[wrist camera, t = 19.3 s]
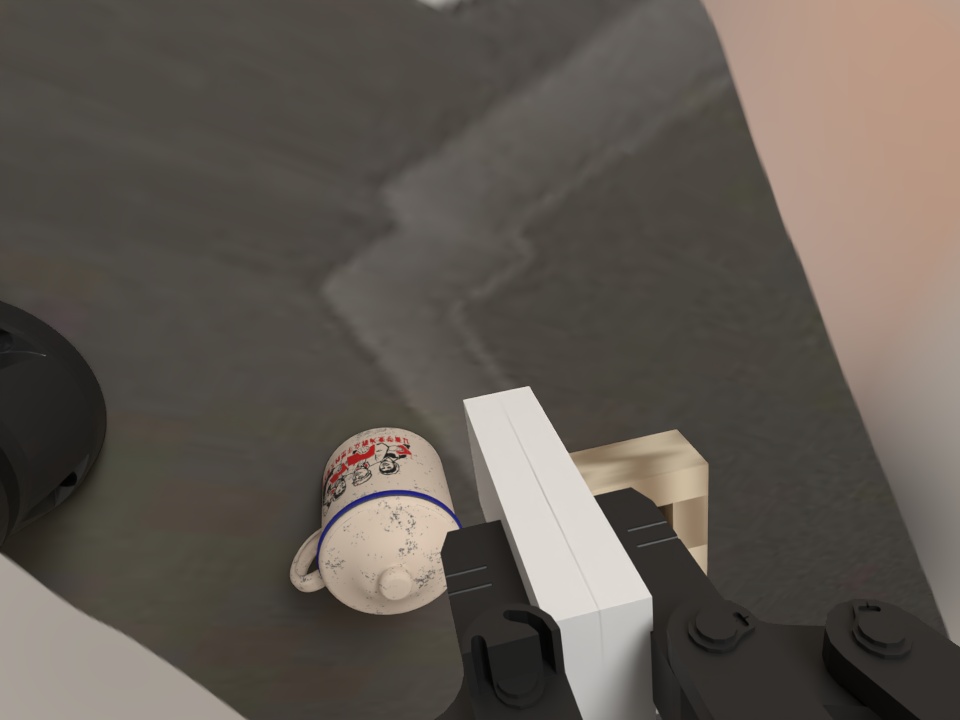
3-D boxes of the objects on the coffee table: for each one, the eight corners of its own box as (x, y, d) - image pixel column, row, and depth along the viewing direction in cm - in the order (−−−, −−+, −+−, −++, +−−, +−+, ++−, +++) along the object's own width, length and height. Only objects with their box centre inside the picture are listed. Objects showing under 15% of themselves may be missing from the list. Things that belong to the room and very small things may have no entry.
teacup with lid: (404, 399, 47) (423, 496, 37) (467, 488, 51) (501, 598, 41) (258, 486, 48) (237, 606, 38) (332, 567, 52) (332, 696, 42)
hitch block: (574, 662, 61) (602, 733, 55) (552, 457, 52) (583, 514, 45) (678, 634, 62) (718, 701, 56) (676, 429, 53) (724, 481, 46)
